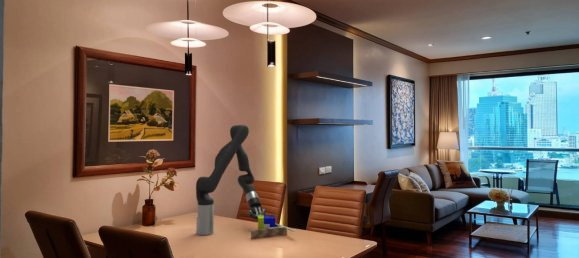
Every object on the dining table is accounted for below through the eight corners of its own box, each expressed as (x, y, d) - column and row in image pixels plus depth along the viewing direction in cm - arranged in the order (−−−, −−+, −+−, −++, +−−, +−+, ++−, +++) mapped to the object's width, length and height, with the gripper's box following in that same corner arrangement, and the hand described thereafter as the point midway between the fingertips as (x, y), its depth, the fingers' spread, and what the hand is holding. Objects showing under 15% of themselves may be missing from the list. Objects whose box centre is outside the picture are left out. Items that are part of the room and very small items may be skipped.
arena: (261, 244, 220) (261, 234, 220) (240, 232, 245) (240, 224, 245) (296, 239, 230) (296, 230, 230) (273, 228, 255) (273, 221, 255)
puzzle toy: (275, 235, 239) (275, 218, 239) (257, 235, 238) (258, 218, 238) (274, 231, 249) (274, 214, 249) (257, 231, 248) (258, 215, 248)
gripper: (245, 197, 253) (253, 221, 242) (264, 195, 259) (273, 219, 249) (241, 204, 258) (249, 228, 247) (260, 203, 264) (269, 226, 253)
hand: (261, 223), depth 248 cm, fingers closed
